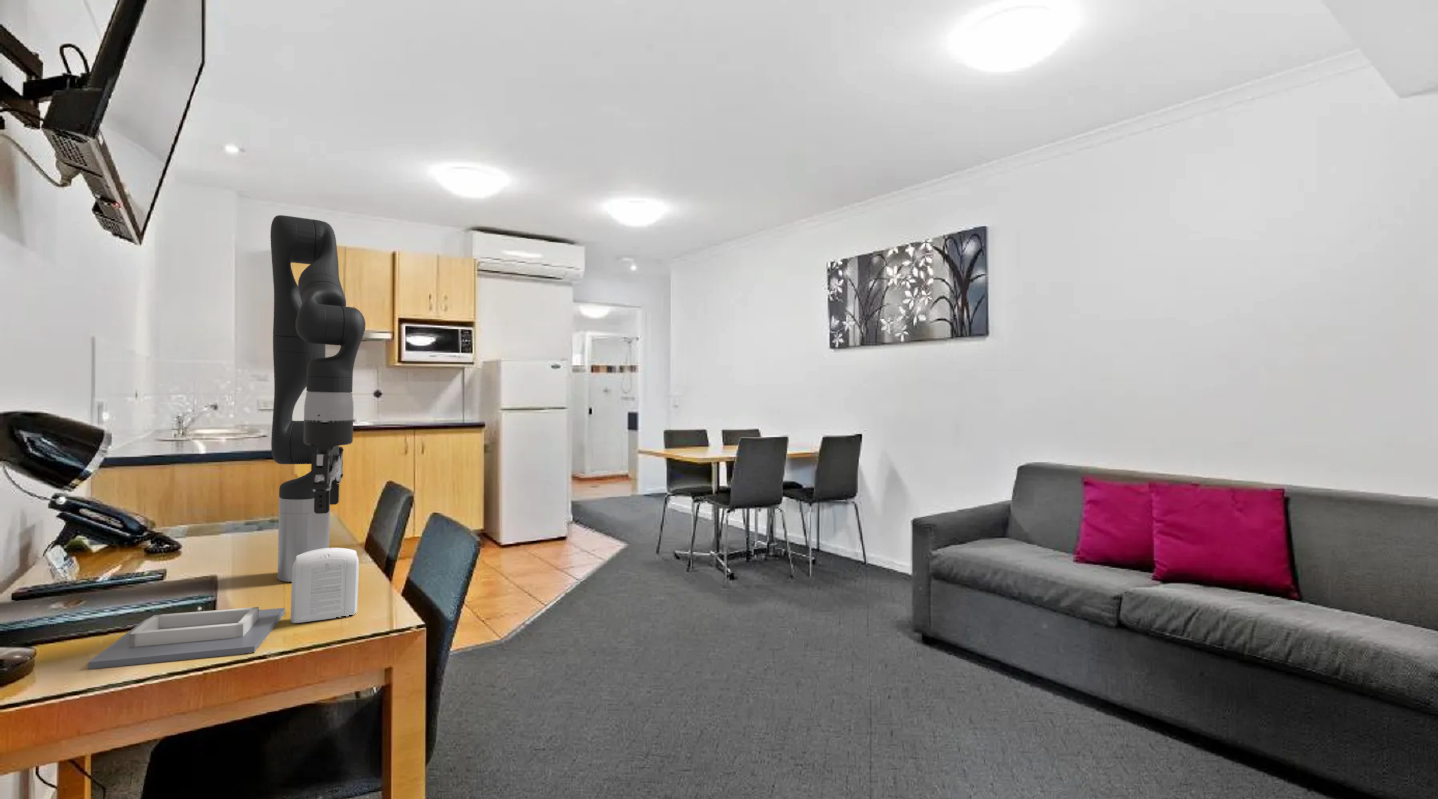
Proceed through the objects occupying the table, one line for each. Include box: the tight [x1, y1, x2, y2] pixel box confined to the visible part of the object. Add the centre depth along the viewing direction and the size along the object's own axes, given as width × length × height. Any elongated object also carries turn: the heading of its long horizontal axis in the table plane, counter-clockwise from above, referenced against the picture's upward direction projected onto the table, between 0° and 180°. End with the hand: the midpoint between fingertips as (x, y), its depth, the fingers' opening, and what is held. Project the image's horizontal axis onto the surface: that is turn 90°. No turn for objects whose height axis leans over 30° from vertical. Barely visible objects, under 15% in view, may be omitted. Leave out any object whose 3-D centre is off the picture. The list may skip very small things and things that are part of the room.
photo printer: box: [290, 547, 360, 624], centre depth 116 cm, size 10×4×12 cm, turn 124°
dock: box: [87, 606, 286, 670], centre depth 105 cm, size 18×20×3 cm
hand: (326, 508), depth 115 cm, fingers open, 8 cm apart
